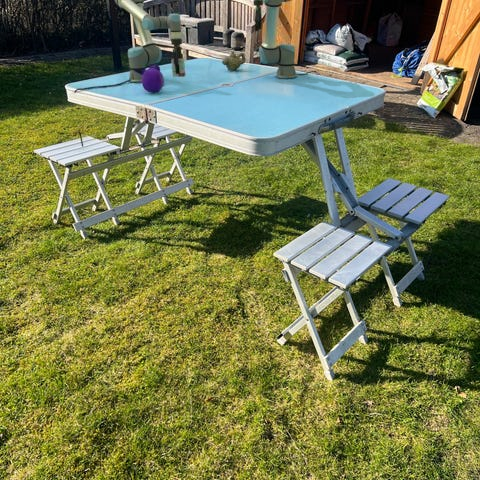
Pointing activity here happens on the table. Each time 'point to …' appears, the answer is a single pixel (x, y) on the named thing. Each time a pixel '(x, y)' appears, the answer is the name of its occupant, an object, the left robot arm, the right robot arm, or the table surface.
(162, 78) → the toy
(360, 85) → the table surface
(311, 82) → the table surface
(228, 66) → the teapot
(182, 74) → the ink box
